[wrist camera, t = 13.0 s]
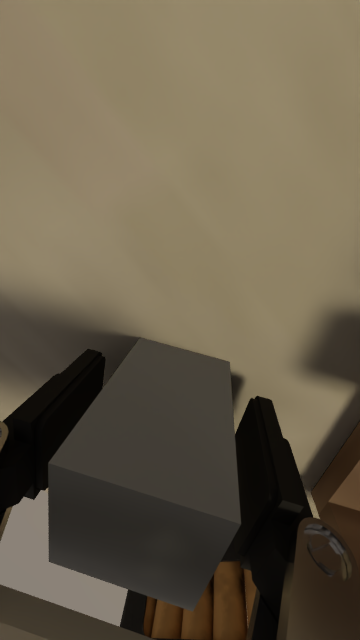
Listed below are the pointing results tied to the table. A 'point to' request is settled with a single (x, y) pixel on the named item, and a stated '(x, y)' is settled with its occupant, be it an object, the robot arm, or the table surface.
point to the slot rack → (342, 494)
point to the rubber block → (150, 477)
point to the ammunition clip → (198, 608)
